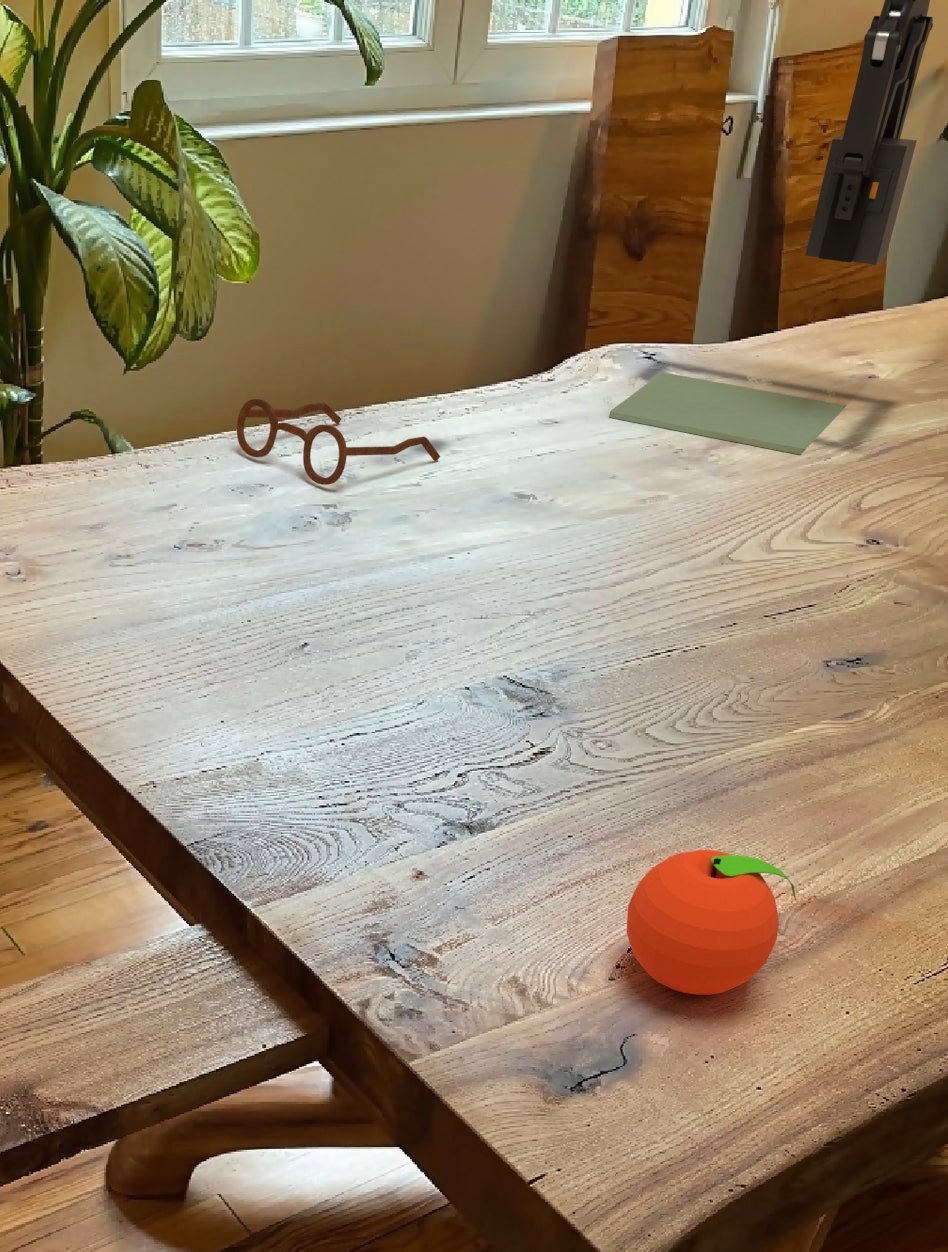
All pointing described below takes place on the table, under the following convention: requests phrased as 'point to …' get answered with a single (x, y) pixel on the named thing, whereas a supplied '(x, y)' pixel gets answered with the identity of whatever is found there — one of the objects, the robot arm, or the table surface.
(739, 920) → the clementine
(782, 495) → the table surface
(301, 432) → the glasses
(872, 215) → the clock
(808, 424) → the mat
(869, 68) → the robot arm
